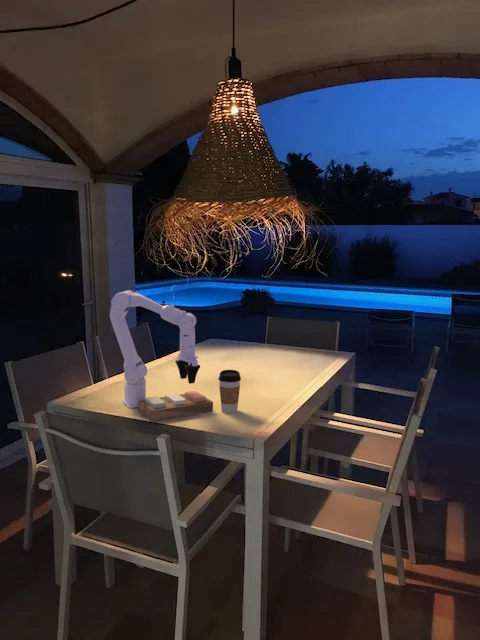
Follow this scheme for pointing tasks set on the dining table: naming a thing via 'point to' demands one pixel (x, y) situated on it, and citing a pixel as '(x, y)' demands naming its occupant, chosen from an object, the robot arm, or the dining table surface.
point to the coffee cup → (229, 390)
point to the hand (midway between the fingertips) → (187, 380)
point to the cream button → (175, 399)
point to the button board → (174, 409)
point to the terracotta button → (195, 396)
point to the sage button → (155, 402)
